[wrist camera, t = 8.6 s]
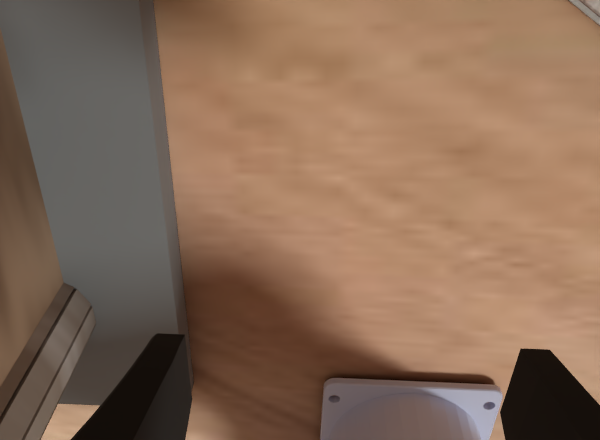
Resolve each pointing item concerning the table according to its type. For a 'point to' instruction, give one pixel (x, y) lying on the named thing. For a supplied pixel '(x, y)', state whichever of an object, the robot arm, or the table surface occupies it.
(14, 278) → the door
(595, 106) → the table surface
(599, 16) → the wrench
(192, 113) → the table surface
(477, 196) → the table surface
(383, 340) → the table surface
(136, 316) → the hinge board
